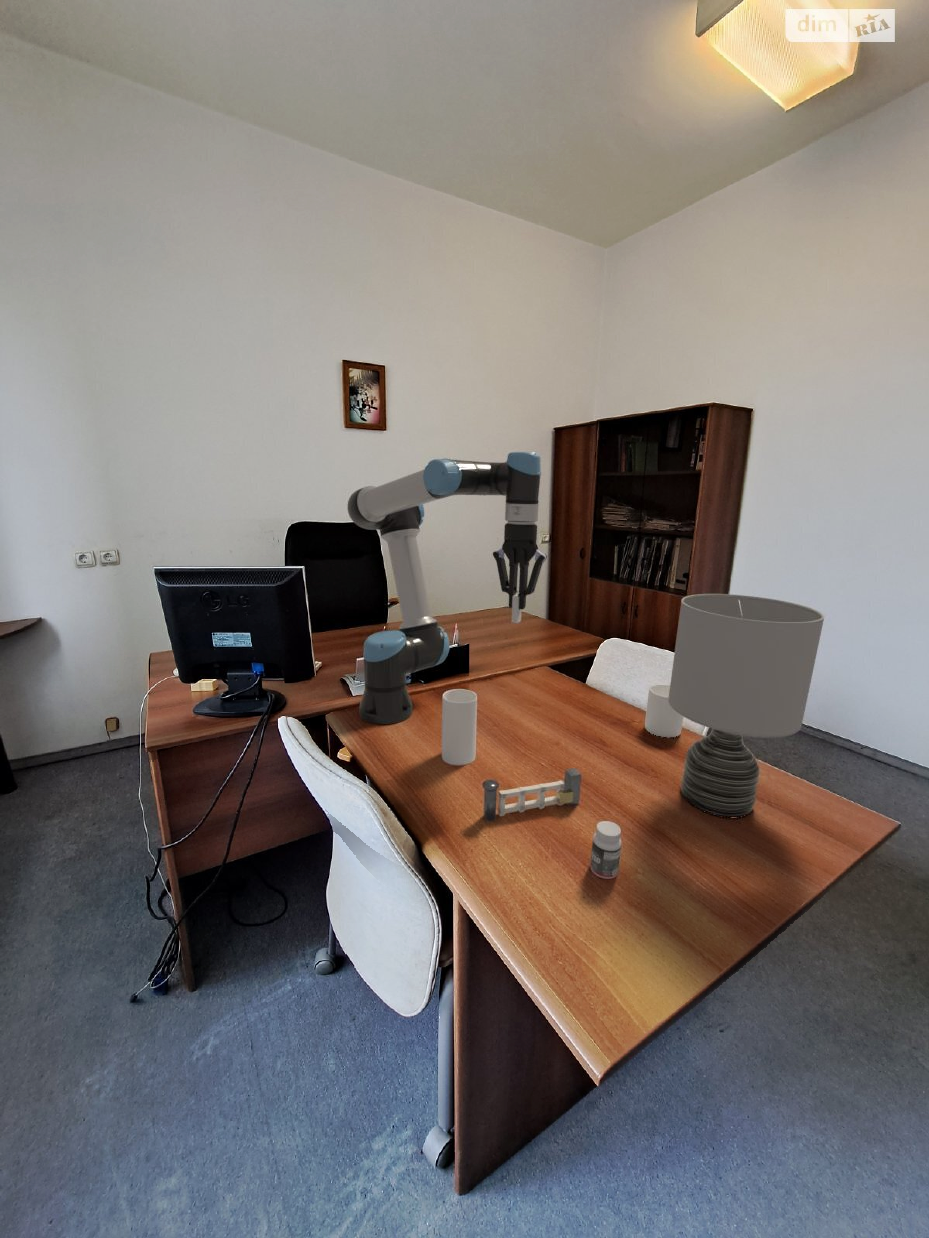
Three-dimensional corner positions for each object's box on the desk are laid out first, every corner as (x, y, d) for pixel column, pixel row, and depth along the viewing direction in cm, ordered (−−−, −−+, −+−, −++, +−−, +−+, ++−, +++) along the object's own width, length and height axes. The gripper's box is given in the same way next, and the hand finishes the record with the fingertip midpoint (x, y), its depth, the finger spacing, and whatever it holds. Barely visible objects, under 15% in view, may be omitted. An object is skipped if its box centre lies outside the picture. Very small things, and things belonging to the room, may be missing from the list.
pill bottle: (586, 860, 89) (590, 819, 87) (612, 859, 89) (616, 818, 87) (595, 880, 85) (599, 837, 82) (622, 879, 85) (627, 836, 83)
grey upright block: (552, 801, 106) (554, 771, 104) (573, 797, 107) (575, 768, 105) (559, 810, 103) (561, 779, 101) (580, 805, 104) (583, 775, 103)
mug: (658, 740, 132) (664, 699, 129) (631, 721, 143) (636, 682, 141) (688, 736, 135) (694, 696, 132) (659, 717, 146) (664, 679, 143)
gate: (500, 816, 100) (501, 794, 99) (497, 812, 101) (498, 790, 100) (562, 804, 104) (564, 783, 103) (560, 801, 105) (561, 780, 104)
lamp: (731, 851, 92) (772, 629, 81) (633, 784, 113) (655, 599, 102) (807, 815, 103) (852, 614, 92) (705, 759, 123) (732, 590, 113)
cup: (472, 767, 118) (473, 704, 114) (438, 763, 119) (438, 700, 115) (478, 750, 126) (479, 690, 122) (446, 746, 127) (447, 687, 123)
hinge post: (479, 813, 101) (480, 781, 99) (494, 810, 102) (495, 778, 100) (484, 823, 98) (486, 790, 96) (500, 820, 99) (501, 787, 97)
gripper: (488, 522, 115) (485, 621, 121) (543, 525, 110) (537, 629, 116) (501, 520, 122) (497, 615, 128) (553, 523, 116) (546, 621, 122)
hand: (516, 621), depth 122 cm, fingers closed
